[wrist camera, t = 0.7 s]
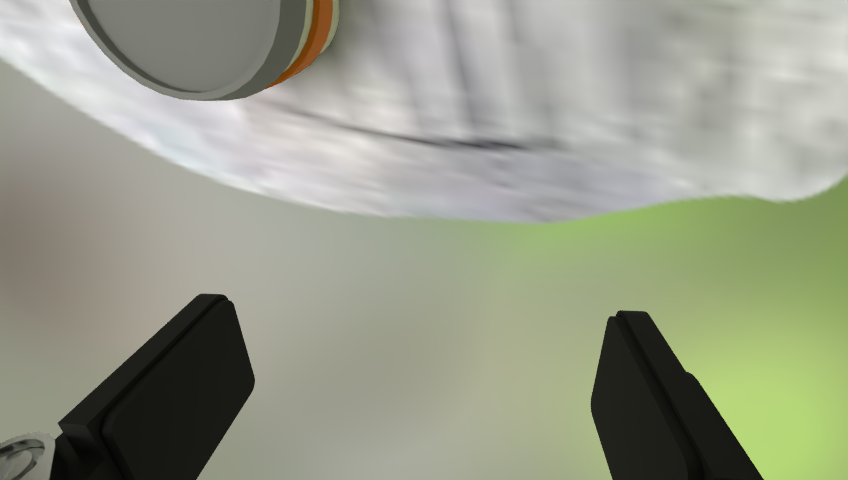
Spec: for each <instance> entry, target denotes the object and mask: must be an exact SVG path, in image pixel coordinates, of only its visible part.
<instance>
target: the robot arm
mask: <svg viewBox="0 0 848 480" xmlns="http://www.w3.org/2000/svg"><path fill="white" fill-rule="evenodd" d="M254 383H255V378H254V374H253V370H252V367H251V363H250V360H249V356H248V353H247V349H246V346H245V342H244V339H243V335H242V332H241V328H240V325H239V321H238V318H237V314H236V311H235V307H234V304H233V303H232V302H231V301H229V300H228V298H227V297H226V296H225V295H221V294H199V295H198V296H196V298H194V299H193V300H192V301H191V302H190V303H189V304H188V305H187V306H185V307H184V308H183V309H182V310H181V311H180V312H179V313H178V314H177V315H176V316H175V317H173V318H172V319H171V320H170V321H169V322H168V323H167V324H166V325H165V326H164V327H163V328H161V329H160V330H159V331H158V332H157V333H156V334H155V335H154V336H153V337H152V338H150V339H149V340H148V341H147V342H146V343H145V344H144V345H143V346H142V347H141V348H139V349H138V350H137V351H136V352H135V353H134V354H133V355H132V356H131V357H130V358H129V359H127V360H126V361H125V362H124V363H123V364H122V365H121V366H120V367H119V368H118V369H116V370H115V371H114V372H113V373H112V374H111V375H110V376H109V377H108V378H107V379H105V380H104V381H103V382H102V383H101V384H100V385H99V386H98V387H97V388H96V389H95V390H93V391H92V392H91V393H90V394H89V395H88V396H87V397H86V398H85V399H84V400H82V401H81V402H80V403H79V404H78V405H77V406H76V407H75V408H74V409H73V410H72V411H70V412H69V413H68V414H67V415H66V416H65V417H64V418H63V419H62V420H61V421H59V422H58V424H59V426H60V427H61V429H62V431H63V433H62V434H61V435H60V436H59V437H57V438H56V439H55V438H53V437H52V436H51V435H50V434H48V433H43V432H35V433H27V434H24V435H21V436H17V437H14V438H11V439H9V440H7V441H5V442H2V443H0V480H196V479H197V477H198V476H199V474H200V473H201V471H202V470H203V468H204V466H205V465H206V463H207V462H208V460H209V459H210V457H211V455H212V454H213V452H214V451H215V449H216V448H217V446H218V444H219V443H220V441H221V440H222V438H223V437H224V435H225V433H226V432H227V430H228V429H229V427H230V426H231V424H232V422H233V421H234V419H235V418H236V416H237V415H238V413H239V411H240V410H241V408H242V407H243V405H244V403H245V402H246V400H247V399H248V397H249V396H250V394H251V392H252V391H253V388H254ZM591 412H592V416H593V419H594V422H595V425H596V429H597V432H598V435H599V438H600V441H601V445H602V448H603V451H604V454H605V457H606V460H607V463H608V466H609V470H610V473H611V476H612V479H613V480H764V479H763V478H762V476H761V475H760V473H759V472H758V470H757V469H756V467H755V466H754V464H753V463H752V461H751V460H750V458H749V457H748V455H747V454H746V452H745V451H744V449H743V448H742V446H741V445H740V443H739V442H738V440H737V439H736V437H735V436H734V434H733V433H732V431H731V430H730V428H729V427H728V425H727V424H726V422H725V421H724V419H723V418H722V416H721V415H720V413H719V412H718V410H717V409H716V407H715V406H714V404H713V403H712V401H711V400H710V398H709V397H708V395H707V394H706V392H705V391H704V389H703V388H702V386H701V385H700V383H699V382H698V380H697V379H696V378H695V377H694V376H693V375H692V374H690V373H689V372H686V371H685V370H684V368H683V367H682V365H681V363H680V362H679V360H678V359H677V357H676V356H675V354H674V353H673V351H672V350H671V348H670V346H669V345H668V343H667V342H666V340H665V339H664V337H663V336H662V334H661V333H660V331H659V330H658V328H657V326H656V325H655V323H654V322H653V320H652V319H651V317H650V316H649V314H648V313H647V312H643V311H621V310H620V311H618V312H617V314H616V317H615V316H611V317H609V319H608V321H607V326H606V330H605V335H604V340H603V345H602V349H601V355H600V359H599V364H598V368H597V374H596V378H595V383H594V388H593V392H592V397H591Z"/></svg>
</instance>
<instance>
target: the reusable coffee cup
mask: <svg viewBox="0 0 848 480" xmlns="http://www.w3.org/2000/svg"><path fill="white" fill-rule="evenodd" d="M69 1H70V3H71V5H72V7H73V10H74V12H75V13H76V15H77V17H78V18H79V20H80V21H81V23H82V25H83V26H84V28H85V30H86V31H87V33H88V34H89V36H90V37H91V38H92V39H93V41H94V42H95V43H96V44H97V45H98V47H99V48H100V49H101V50H102V52H103V53H104V54H105V55H106V56H107V57H108V58H109V59H110V60H111V61H112V62H113V63H114V64H116V65H117V66H118V67H119V68H120V69H121V70H122V71H123V72H125V73H126V74H127V75H129V76H130V77H132V78H133V79H135V80H136V81H137V82H139V83H140V84H142V85H144V86H146V87H148V88H150V89H152V90H154V91H156V92H158V93H161V94H164V95H167V96H171V97H174V98H178V99H183V100H197V101H216V100H233V99H240V98H246V97H248V96H251V95H253V94H255V93H258V92H260V91H262V90H264V89H267V88H269V87H272V86H274V85H276V84H279V83H281V82H283V81H285V80H286V79H288V78H290V77H292V76H294V75H295V74H297V73H299V72H301V71H302V70H303V69H305V68H306V67H307V66H309V65H310V64H311V63H312V62H313V61H314V60H315V58H316V57H317V56H318V55H320V54H321V53H322V52H324V50H325V49H326V48H327V47H328V46H329V45H330V43H331V41H332V39H333V38H334V36H335V33H336V30H337V27H338V23H339V15H340V7H339V0H69Z"/></svg>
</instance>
